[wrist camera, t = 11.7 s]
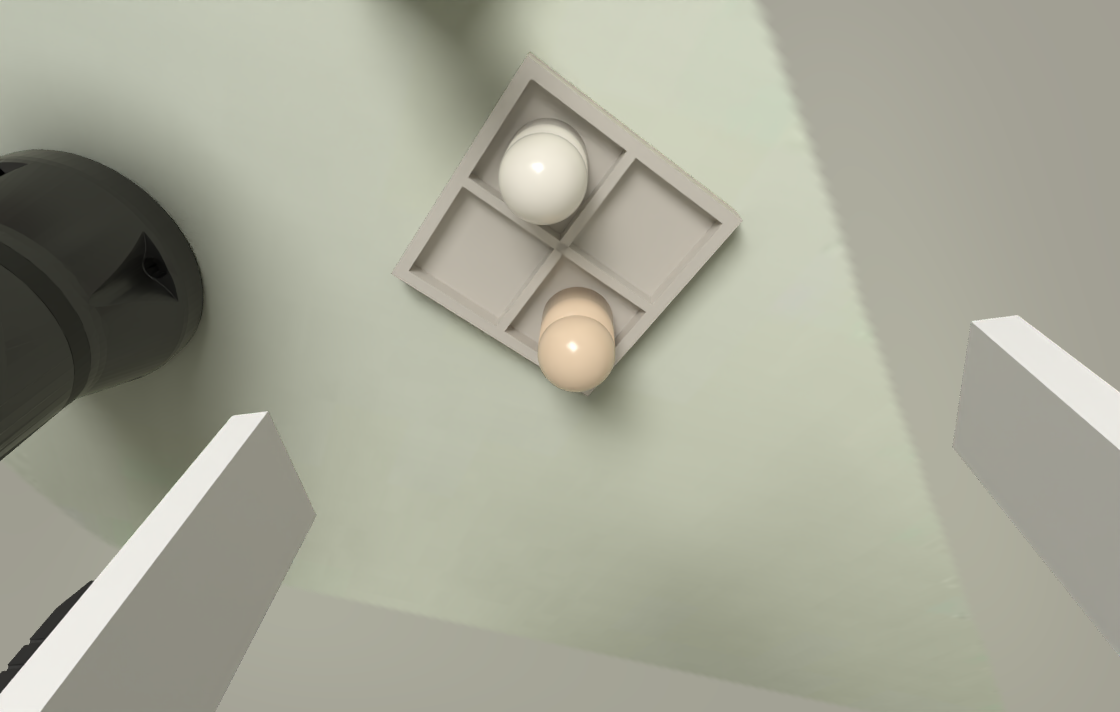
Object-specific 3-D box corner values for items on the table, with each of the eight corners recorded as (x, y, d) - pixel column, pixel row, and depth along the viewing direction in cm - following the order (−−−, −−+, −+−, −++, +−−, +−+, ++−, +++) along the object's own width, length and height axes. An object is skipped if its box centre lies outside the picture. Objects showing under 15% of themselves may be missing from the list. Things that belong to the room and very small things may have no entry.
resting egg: (492, 168, 38) (474, 202, 32) (537, 100, 36) (527, 122, 30) (557, 214, 39) (551, 254, 33) (603, 150, 37) (606, 180, 31)
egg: (528, 325, 43) (518, 379, 37) (569, 273, 41) (566, 321, 35) (584, 362, 44) (584, 420, 38) (627, 313, 42) (633, 365, 36)
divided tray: (399, 261, 42) (390, 273, 40) (529, 51, 36) (527, 54, 34) (587, 381, 46) (587, 396, 44) (735, 210, 39) (742, 220, 38)
